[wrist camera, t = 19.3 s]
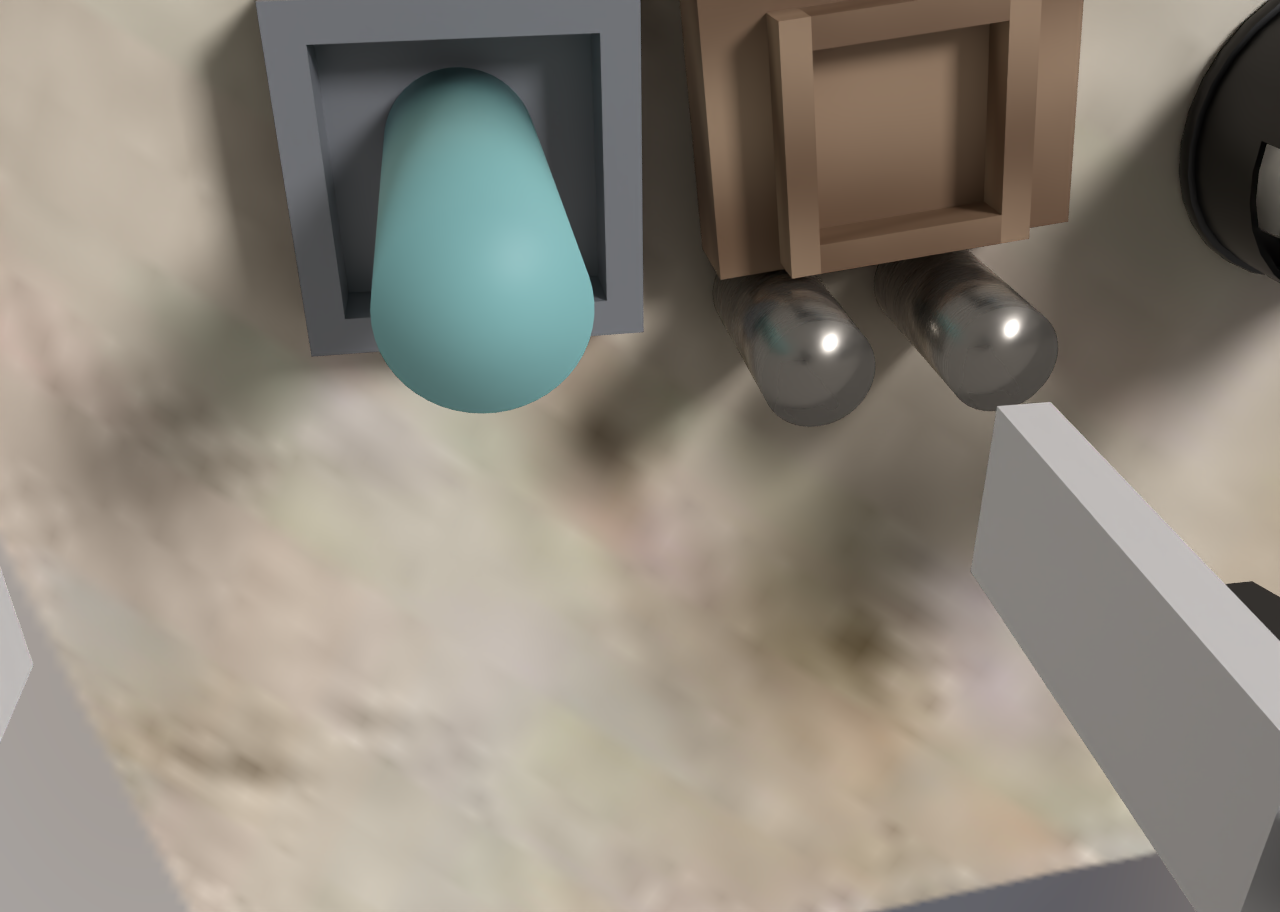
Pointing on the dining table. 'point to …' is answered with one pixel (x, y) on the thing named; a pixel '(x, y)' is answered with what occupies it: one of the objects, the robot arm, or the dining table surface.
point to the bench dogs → (922, 310)
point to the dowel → (474, 250)
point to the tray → (406, 50)
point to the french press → (1235, 144)
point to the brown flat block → (877, 127)
